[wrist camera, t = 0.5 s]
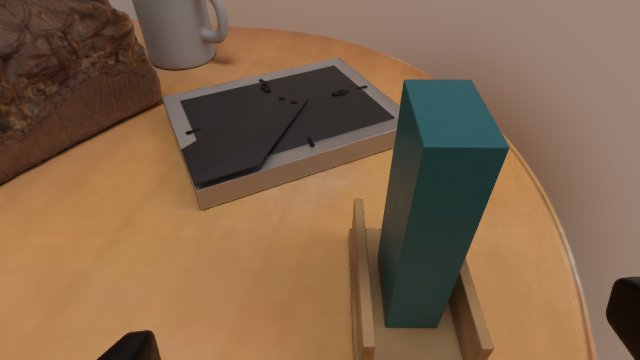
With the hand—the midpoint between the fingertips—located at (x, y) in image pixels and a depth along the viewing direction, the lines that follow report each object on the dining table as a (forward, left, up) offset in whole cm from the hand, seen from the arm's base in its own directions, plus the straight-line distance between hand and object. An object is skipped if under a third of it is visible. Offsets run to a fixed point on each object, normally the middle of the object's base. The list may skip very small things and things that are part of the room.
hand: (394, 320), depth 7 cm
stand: (+8, -6, -15) cm, 18 cm away
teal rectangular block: (+8, -6, -14) cm, 17 cm away
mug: (+48, +7, -15) cm, 51 cm away
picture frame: (+29, -2, -15) cm, 33 cm away
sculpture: (+37, +22, -15) cm, 46 cm away
